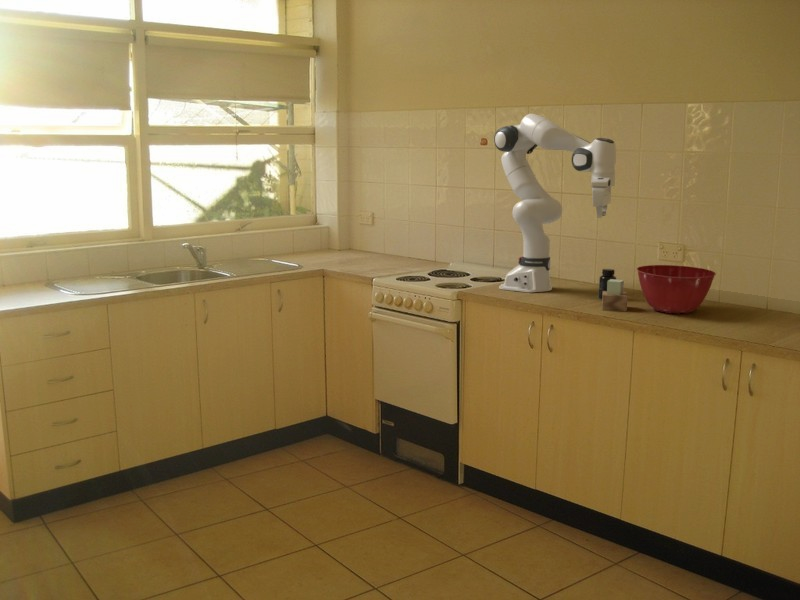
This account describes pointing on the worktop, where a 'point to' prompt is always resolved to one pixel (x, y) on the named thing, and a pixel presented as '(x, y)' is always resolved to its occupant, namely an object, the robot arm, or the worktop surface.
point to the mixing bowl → (674, 287)
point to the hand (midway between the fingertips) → (601, 216)
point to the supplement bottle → (605, 280)
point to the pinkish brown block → (614, 301)
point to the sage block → (615, 287)
